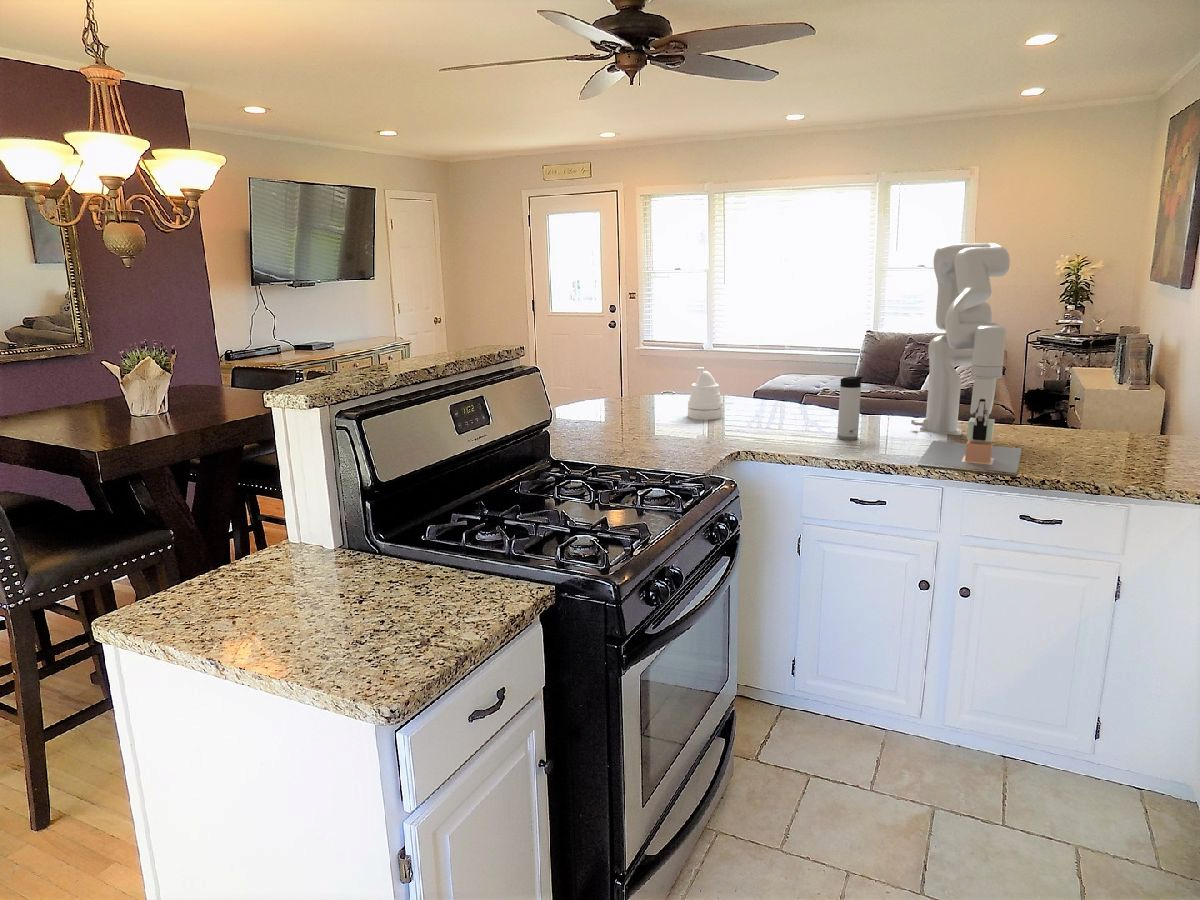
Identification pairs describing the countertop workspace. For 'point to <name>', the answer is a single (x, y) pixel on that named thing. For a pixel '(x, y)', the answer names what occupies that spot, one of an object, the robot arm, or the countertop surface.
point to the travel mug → (849, 408)
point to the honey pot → (705, 398)
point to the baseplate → (955, 457)
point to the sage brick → (988, 433)
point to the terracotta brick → (978, 451)
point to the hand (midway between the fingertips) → (980, 436)
